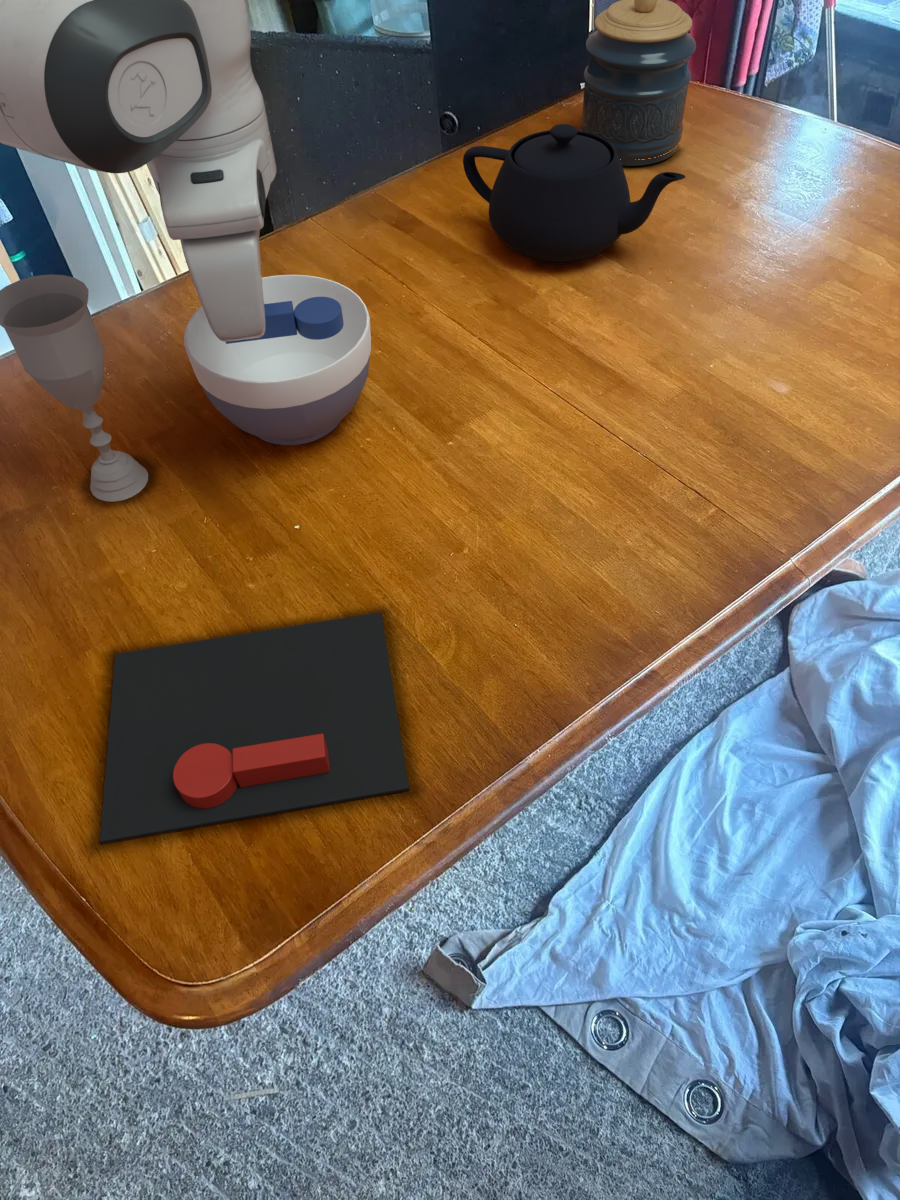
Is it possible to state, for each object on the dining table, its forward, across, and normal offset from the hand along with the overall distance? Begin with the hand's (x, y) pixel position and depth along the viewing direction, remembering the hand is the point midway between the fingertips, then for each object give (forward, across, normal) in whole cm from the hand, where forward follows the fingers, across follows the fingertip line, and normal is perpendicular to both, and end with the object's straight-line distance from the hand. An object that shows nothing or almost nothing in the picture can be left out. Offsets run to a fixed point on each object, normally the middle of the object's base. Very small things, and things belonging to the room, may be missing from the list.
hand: (252, 322), depth 74 cm
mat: (+11, +32, -3) cm, 34 cm away
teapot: (+11, -25, +34) cm, 44 cm away
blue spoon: (+1, 0, +3) cm, 3 cm away
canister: (+11, -46, +48) cm, 67 cm away
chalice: (+11, +5, -14) cm, 19 cm away
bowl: (+11, -1, +2) cm, 11 cm away
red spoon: (+10, +36, -3) cm, 38 cm away
